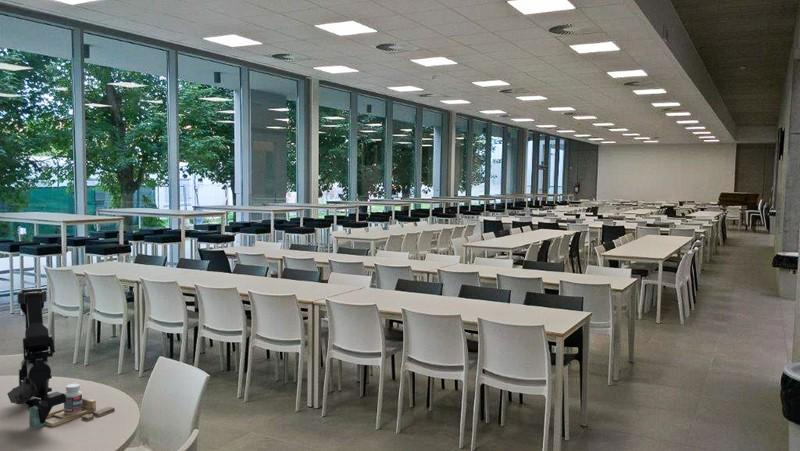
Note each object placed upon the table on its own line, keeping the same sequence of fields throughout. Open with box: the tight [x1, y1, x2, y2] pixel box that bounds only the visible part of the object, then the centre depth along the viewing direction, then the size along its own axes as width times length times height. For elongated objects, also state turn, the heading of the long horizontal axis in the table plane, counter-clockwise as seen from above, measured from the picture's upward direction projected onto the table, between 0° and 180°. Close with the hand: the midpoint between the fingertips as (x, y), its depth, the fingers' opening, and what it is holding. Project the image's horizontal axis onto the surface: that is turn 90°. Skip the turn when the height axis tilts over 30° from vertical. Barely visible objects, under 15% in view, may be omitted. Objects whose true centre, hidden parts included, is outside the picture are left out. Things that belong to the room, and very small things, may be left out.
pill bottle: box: [63, 383, 83, 414], centre depth 207 cm, size 5×5×9 cm
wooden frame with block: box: [28, 396, 97, 429], centre depth 203 cm, size 9×19×6 cm, turn 154°
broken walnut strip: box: [81, 406, 115, 422], centre depth 206 cm, size 3×10×1 cm, turn 154°
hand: (38, 422), depth 196 cm, fingers closed on wooden frame with block, 3 cm apart
